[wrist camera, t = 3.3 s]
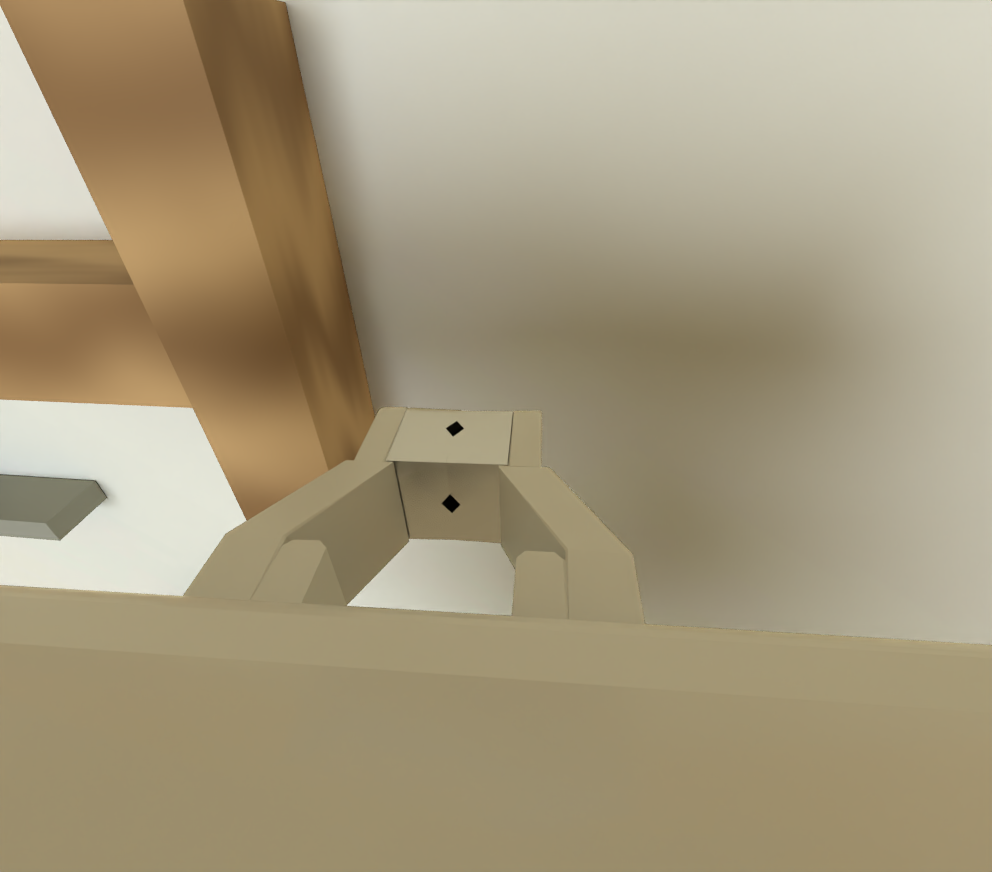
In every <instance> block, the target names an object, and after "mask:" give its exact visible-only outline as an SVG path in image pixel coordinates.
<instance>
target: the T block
mask: <svg viewBox="0 0 992 872" xmlns="http://www.w3.org/2000/svg"><path fill="white" fill-rule="evenodd" d="M0 6H1V8H2V10H3V12H4V14H5V16H6V18H7V20H8V22H9V25H10V27H11V29H12V31H13V33H14V35H15V37H16V39H17V41H18V43H19V45H20V48H21V50H22V52H23V54H24V56H25V58H26V60H27V62H28V64H29V66H30V68H31V71H32V73H33V75H34V77H35V79H36V81H37V83H38V85H39V87H40V89H41V91H42V94H43V96H44V98H45V100H46V102H47V104H48V106H49V108H50V110H51V112H52V114H53V117H54V119H55V121H56V123H57V125H58V127H59V129H60V131H61V133H62V135H63V137H64V140H65V142H66V144H67V146H68V148H69V150H70V152H71V154H72V156H73V158H74V160H75V163H76V165H77V167H78V169H79V171H80V173H81V175H82V177H83V179H84V181H85V183H86V186H87V188H88V190H89V192H90V194H91V196H92V198H93V200H94V202H95V204H96V206H97V209H98V211H99V213H100V215H101V217H102V219H103V221H104V223H105V225H106V227H107V229H108V232H109V234H110V236H111V238H112V240H0V399H4V400H26V401H49V402H72V403H95V404H118V405H141V406H164V407H187V408H193V409H194V411H195V413H196V416H197V418H198V420H199V422H200V424H201V426H202V428H203V430H204V432H205V434H206V436H207V439H208V441H209V443H210V445H211V447H212V449H213V451H214V453H215V455H216V457H217V459H218V462H219V464H220V466H221V468H222V470H223V472H224V474H225V476H226V478H227V480H228V483H229V485H230V487H231V489H232V491H233V493H234V495H235V497H236V499H237V501H238V503H239V506H240V508H241V510H242V512H243V514H244V516H245V518H246V520H249V519H251V518H252V517H254V516H255V515H257V514H259V513H260V512H262V511H264V510H265V509H267V508H269V507H270V506H272V505H273V504H275V503H277V502H278V501H280V500H282V499H283V498H285V497H286V496H288V495H290V494H291V493H293V492H295V491H296V490H298V489H300V488H301V487H303V486H304V485H306V484H308V483H309V482H311V481H313V480H314V479H316V478H318V477H319V476H321V475H322V474H324V473H326V472H327V471H329V470H331V469H332V468H334V467H335V466H337V465H339V464H340V463H342V462H344V461H345V460H354V459H355V457H356V455H357V453H358V451H359V449H360V447H361V445H362V443H363V441H364V439H365V437H366V435H367V433H368V431H369V428H370V426H371V424H372V422H373V420H374V418H375V415H374V410H373V406H372V401H371V396H370V392H369V387H368V383H367V378H366V373H365V369H364V364H363V359H362V355H361V350H360V345H359V341H358V336H357V332H356V327H355V322H354V318H353V313H352V308H351V304H350V299H349V295H348V290H347V285H346V281H345V276H344V271H343V267H342V262H341V257H340V253H339V248H338V244H337V239H336V234H335V230H334V225H333V220H332V216H331V211H330V207H329V202H328V197H327V193H326V188H325V183H324V179H323V174H322V169H321V165H320V160H319V156H318V151H317V146H316V142H315V137H314V132H313V128H312V123H311V119H310V114H309V109H308V105H307V100H306V95H305V91H304V86H303V82H302V77H301V72H300V68H299V63H298V58H297V54H296V49H295V44H294V40H293V35H292V31H291V26H290V21H289V17H288V12H287V7H286V3H285V2H281V1H277V0H0Z"/></svg>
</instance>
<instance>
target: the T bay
mask: <svg viewBox="0 0 992 872" xmlns="http://www.w3.org/2000/svg"><path fill="white" fill-rule="evenodd" d="M106 498H107V497H106V496H105V494H104V493H103V492H102V490H101V489H100V487H99V486H98V484H97V483H96V481H88V480H72V479H57V478H42V477H26V476H11V475H0V536H10V537H23V538H35V539H47V540H59V541H60V540H61V539H62V538H63V537H64V536H65V535H67V534H68V533H69V532H70V531H71V530H72V529H73V528H74V527H75V526H76V525H78V524H79V523H80V522H81V521H82V520H83V519H84V518H85V517H86V516H87V515H88V514H90V513H91V512H92V511H93V510H94V509H95V508H96V507H97V506H98V505H99V504H101V503H102V502H103V501H104V500H105V499H106Z"/></svg>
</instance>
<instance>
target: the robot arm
mask: <svg viewBox="0 0 992 872" xmlns="http://www.w3.org/2000/svg"><path fill="white" fill-rule="evenodd" d="M541 463H542V412H541V410H531V411H514V412H513V411H462V410H451V409H430V408H407V407H383V408H381V409H379V410H378V412H377V414H376V416H375V418H374V420H373V422H372V424H371V426H370V428H369V431H368V433H367V435H366V437H365V439H364V441H363V443H362V445H361V447H360V449H359V451H358V453H357V455H356V457H355V459H354V460H345V461H344V462H342V463H340V464H339V465H337V466H335V467H334V468H332V469H331V470H329V471H327V472H326V473H324V474H322V475H321V476H319V477H318V478H316V479H314V480H313V481H311V482H309V483H308V484H306V485H304V486H303V487H301V488H300V489H298V490H296V491H295V492H293V493H291V494H290V495H288V496H286V497H285V498H283V499H282V500H280V501H278V502H277V503H275V504H273V505H272V506H270V507H269V508H267V509H265V510H264V511H262V512H260V513H259V514H257V515H255V516H254V517H252V518H251V519H249V520H247V521H246V522H244V523H242V524H241V525H239V526H237V527H236V528H234V529H233V530H231V531H229V532H228V533H226V534H225V536H224V537H223V538H222V540H221V541H220V543H219V544H218V546H217V547H216V549H215V550H214V551H213V553H212V554H211V556H210V557H209V559H208V560H207V562H206V563H205V564H204V566H203V567H202V569H201V570H200V572H199V573H198V575H197V576H196V577H195V579H194V580H193V582H192V583H191V585H190V586H189V588H188V589H187V590H186V592H185V593H184V595H183V596H174V595H157V594H141V593H124V592H108V591H91V590H74V589H58V588H41V587H25V586H8V585H0V872H992V645H985V644H969V643H952V642H936V641H919V640H902V639H886V638H869V637H853V636H836V635H819V634H803V633H786V632H770V631H753V630H737V629H720V628H703V627H687V626H670V625H654V624H645V620H644V614H643V608H642V603H641V597H640V591H639V586H638V580H637V574H636V568H635V563H634V557H633V554H632V553H631V552H630V551H629V550H628V549H627V548H626V547H625V545H624V544H623V543H622V542H621V541H620V540H619V539H618V538H617V537H616V536H615V535H614V534H613V533H612V532H611V531H610V530H609V529H608V528H607V527H606V526H605V525H604V524H603V523H602V521H601V520H600V519H599V518H598V517H597V516H596V515H595V514H594V513H593V512H592V511H591V510H590V509H589V508H588V507H587V506H586V505H585V504H584V503H583V502H582V501H581V500H580V499H579V497H578V496H577V495H576V494H575V493H574V492H573V491H572V490H571V489H570V488H569V487H568V486H567V485H566V484H565V483H564V482H563V481H562V480H561V479H560V478H559V477H558V476H557V475H556V473H555V472H554V471H553V470H552V469H551V468H549V467H541ZM409 539H449V540H466V541H480V542H493V543H501V546H502V548H503V549H504V551H505V553H506V555H507V556H508V558H509V560H510V562H511V563H512V565H513V567H514V569H515V582H514V594H513V607H512V616H506V615H489V614H473V613H456V612H440V611H423V610H406V609H390V608H373V607H357V606H347V604H348V603H349V602H350V601H351V600H352V599H353V598H354V597H355V596H356V595H357V594H358V593H359V592H360V591H361V590H362V589H363V588H364V587H365V586H366V585H367V584H368V583H369V582H370V581H371V580H372V579H373V578H374V577H375V576H376V575H377V574H378V573H379V572H380V571H381V570H382V569H383V568H384V567H385V566H386V564H387V563H388V562H389V561H390V560H391V559H392V558H393V557H394V556H395V555H396V554H397V553H398V552H399V551H400V550H401V549H402V548H403V547H404V546H405V545H406V544H407V543H408V542H409Z"/></svg>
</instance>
